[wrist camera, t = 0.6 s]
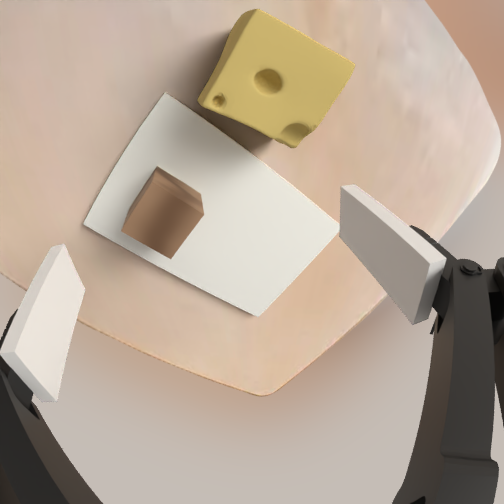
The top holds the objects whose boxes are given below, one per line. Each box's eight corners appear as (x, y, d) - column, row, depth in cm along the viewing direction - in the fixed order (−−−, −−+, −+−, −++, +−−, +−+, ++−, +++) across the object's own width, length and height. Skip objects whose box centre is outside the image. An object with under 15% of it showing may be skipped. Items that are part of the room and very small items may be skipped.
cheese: (275, 139, 35) (305, 161, 27) (190, 100, 31) (192, 106, 22) (317, 65, 31) (361, 65, 23) (235, 20, 27) (254, -1, 18)
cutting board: (85, 219, 35) (83, 224, 34) (165, 92, 30) (165, 92, 29) (256, 312, 48) (258, 317, 47) (338, 223, 42) (342, 227, 41)
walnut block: (129, 207, 34) (120, 231, 29) (157, 165, 32) (152, 181, 27) (172, 232, 37) (170, 259, 32) (200, 193, 35) (204, 214, 30)
